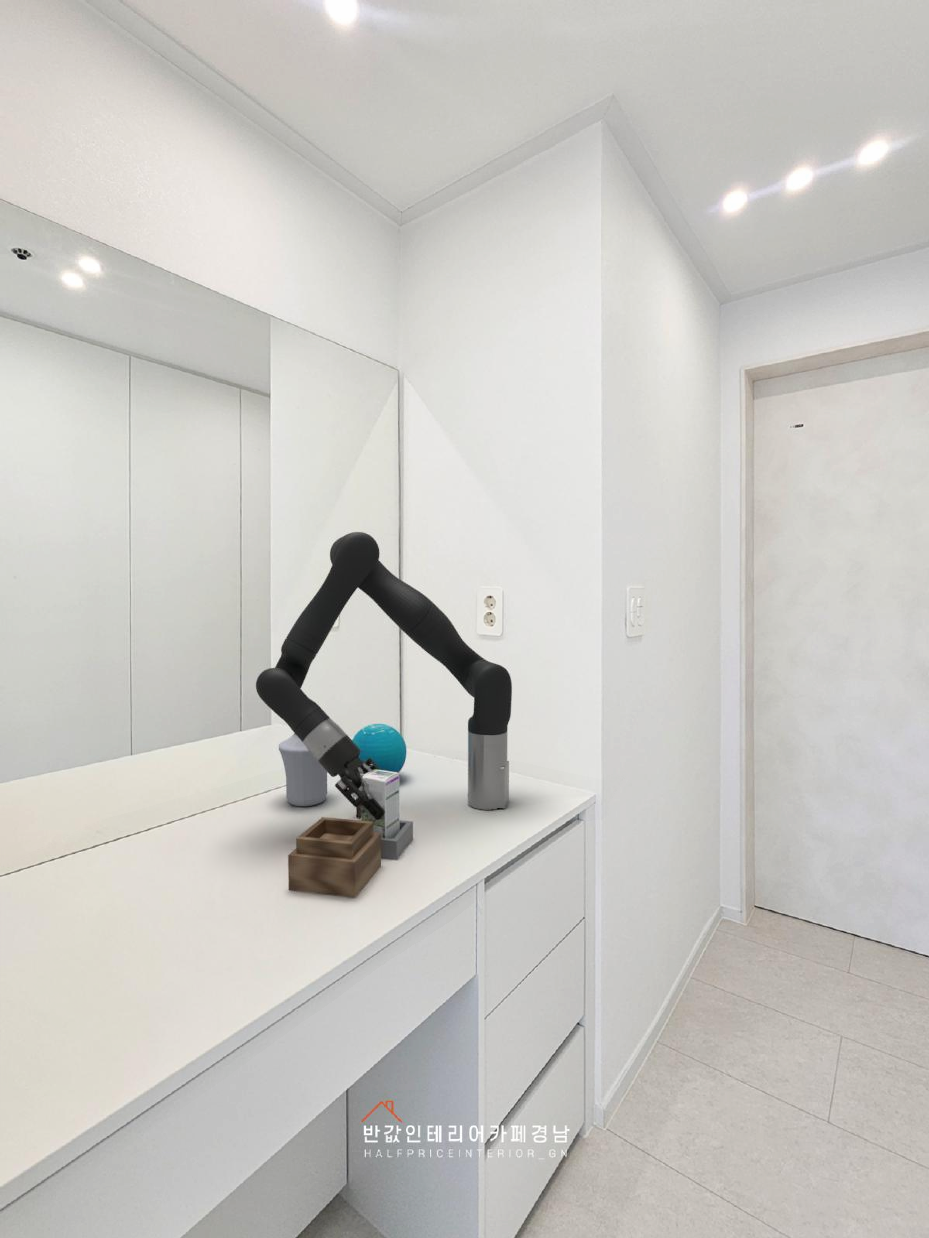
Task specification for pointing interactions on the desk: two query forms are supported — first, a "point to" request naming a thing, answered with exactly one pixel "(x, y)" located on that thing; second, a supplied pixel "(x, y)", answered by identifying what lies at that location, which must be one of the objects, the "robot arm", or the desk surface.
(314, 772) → the soap bottle
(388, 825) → the syrup box
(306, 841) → the walnut raised dock
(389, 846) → the charcoal collar
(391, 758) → the decorative orb
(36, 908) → the desk surface
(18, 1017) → the desk surface
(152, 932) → the desk surface
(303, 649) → the robot arm
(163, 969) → the desk surface
